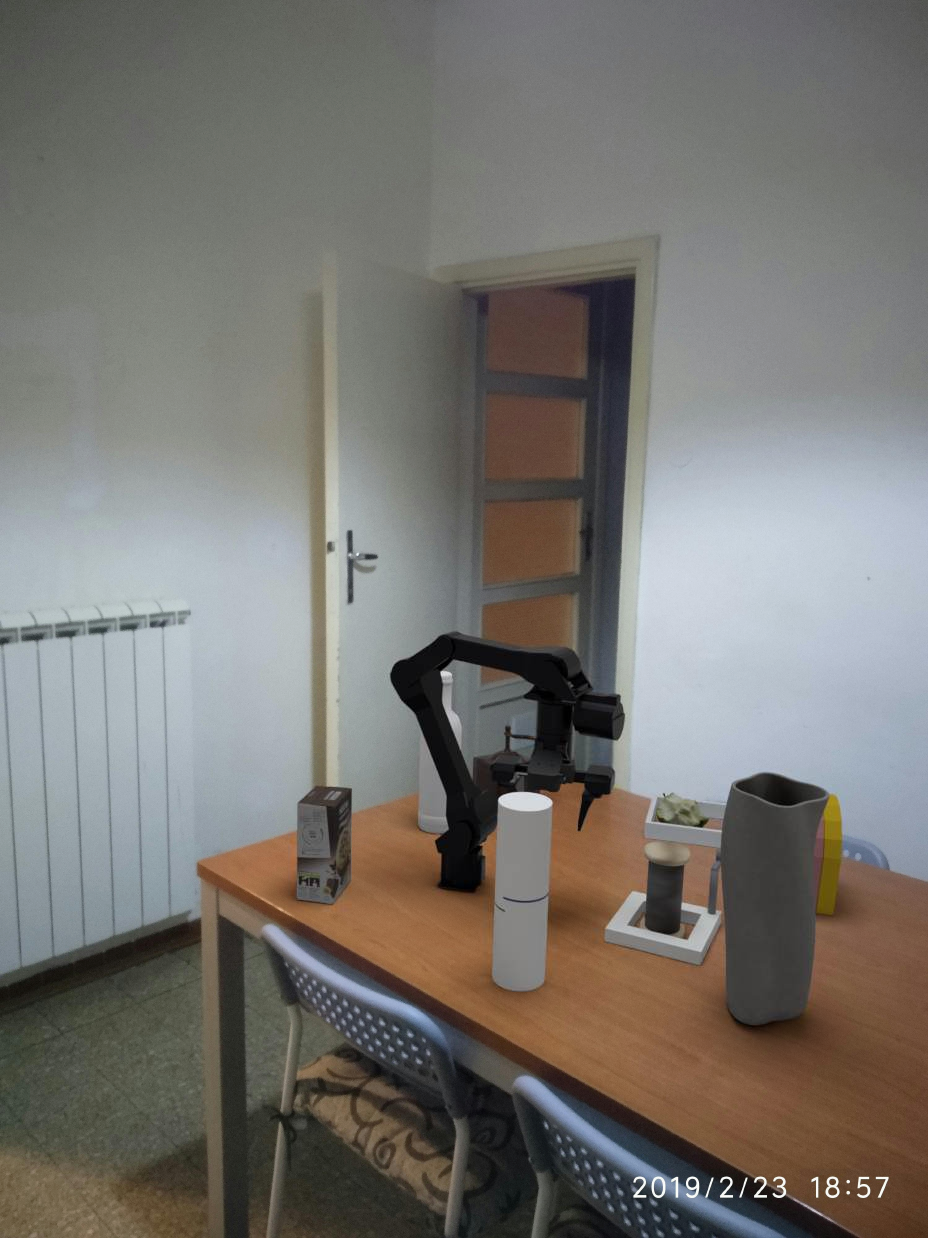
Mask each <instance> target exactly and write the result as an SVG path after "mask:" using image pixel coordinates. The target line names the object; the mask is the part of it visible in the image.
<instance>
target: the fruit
mask: <svg viewBox="0 0 928 1238" xmlns="http://www.w3.org/2000/svg"><path fill="white" fill-rule="evenodd" d="M662 796H664V800H663V801H661V802H660V803H659V804H658V806H657V809H656V818H657V820H658V822H660V823H667V824H675V825H683V826H691V827H698V828H704V827H705V825H707V824H708V822H709V821H710V818H708V817H706V816H705V815H704V814H702V813H701V812H700V810H699V808H698V806H697V804H698V803H697V802H696V801H695V800H696V799H693V800H690V799H691V798H684V799H682V798H683V797H681V796H679V795H678V794H676V793H674V792H671V793H669V794H667V795H666V794H665V792H663V793H662Z"/></svg>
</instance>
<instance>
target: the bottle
mask: <svg viewBox="0 0 928 1238" xmlns="http://www.w3.org/2000/svg"><path fill="white" fill-rule="evenodd" d="M441 677H442V681H443V696H442V703H443V706H444V709H445V711H446V714H447V716H448V719H449V722H450V724H451V727H452V729H453V732H454V734H455V737H456V740H457V742H458V745H459V747H460V750H461V751H462V741H463V740H462V738H463V737H462V736H463V735H462V733H463V732H462V730H463V727H462V723H461V720H460V717H459V716H458V715H457V713H455V711H453V710H452V699H453V698H452V694H453V693H452V689H453V683H454V679H453V674H452V673H451V672H450V671H445V670H442V671H441ZM419 728H420V727H419ZM419 732H420V733H419V772H418V773H419V774H418V775H419V776H418V809H417V810H418V811H417V819H418V820H417V821H418V824H417V825H418V828H419V829H421V830H422V831H423V832H426V833H429V834H435V835H436V834H437V835H440V834H441V835H442V834H444V833H445V832H446V831H447V830H449V828H448V824H447V819H446V793H445V790H444V788H443V785H442V782H441V780H440V777H439V775H438V772H437V770H436V767H435V764H434V762H433V759H432V757H431V754H430V751H429V749H428V746H427V744H426V741H425V739H424V736H423V733H422V731H421V728H420V729H419Z"/></svg>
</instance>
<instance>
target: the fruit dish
mask: <svg viewBox="0 0 928 1238" xmlns="http://www.w3.org/2000/svg"><path fill="white" fill-rule="evenodd" d="M681 798H682V799H685V798H683V797H681ZM689 799H690V800H695V801H696V802H697V803H698V804H697V806H698V808H699V810H700V812H701V813H702V814H704V815H705V816H706V817H707V818H709V819H718V820H723V819H724V813H725V808H726V804H727V802H726V803H724V802H716V801H710V800H699V799H691V798H689ZM663 800H664V795H660V794H659V795H657V794H653V795H652V797H651V800H650V805H649V807H648V812H647V814H646V819H645V823H644V835H643V837H644V838H645V839H651V840H657V841H664V842H672V843H679V844H680V843H681V844H689V845H697V846H703V847H711V848H716V849H721V834H722V829H720V830H719V829H712V828H705V827H703V828H698V827H691V826H683V825H675V824H667V823H660V822H659V821H655V819H656V817H657V815H656V809H657V806H658V804H659V803H660V802H661V801H663Z"/></svg>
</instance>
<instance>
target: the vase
mask: <svg viewBox="0 0 928 1238" xmlns="http://www.w3.org/2000/svg"><path fill="white" fill-rule="evenodd" d="M829 794H830V793H829V791H827V790H826V789H825V788H823V787H821V786H819V785H816V784H812V783H808V782H804V781H801V780H797V779H793V778H791V777H788V776H786V775H783V774H780V773H776V772H769V771H762V772H758V773H754V774H752V775H750V776H747V777H744V778H739V779H737V780H735V781H732V782H731V785H730V789H729V792H728V796H727V800H726V808H725V813H724V819H722V825H721V826H722V827H721V830H722V834H721V848H720V849H721V867H720V871H721V872H720V873H721V875H720V876H721V889H722V902H723V903H722V904H723V917H724V919H723V920H724V939H725V940H724V941H725V995H726V1001H727V1006H728V1010H729V1012H730V1014H731V1015H732V1016H733V1017H734V1018H735V1019H736V1020H737V1021H739V1022H741V1023H742V1024H746V1025H750V1026H762V1025H766V1024H768V1023H771V1022H778V1021H786V1020H791V1019H795V1018H796V1017H797V1016H799V1015H801V1014H802V1012H804V1011H805V1009H806V1007H807V1004H808V1000H809V994H810V987H811V983H812V977H813V969H814V961H815V947H816V922H817V919H816V912H815V893H814V868H813V862H814V847H815V840H816V835H817V831H818V827H819V824H820V821H821V818H822V815H823V812H824V810H825V807H826V805H827V802H828V800H829V797H830V795H829Z"/></svg>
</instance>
